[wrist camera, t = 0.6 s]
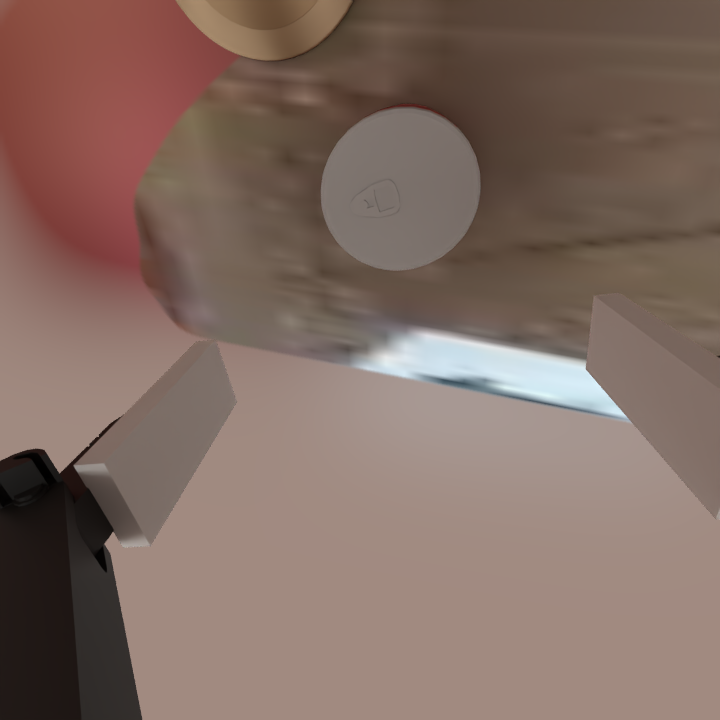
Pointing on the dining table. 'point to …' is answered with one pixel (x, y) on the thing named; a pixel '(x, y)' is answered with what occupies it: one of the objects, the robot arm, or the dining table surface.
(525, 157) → the dining table surface
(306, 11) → the disc
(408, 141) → the canned food
